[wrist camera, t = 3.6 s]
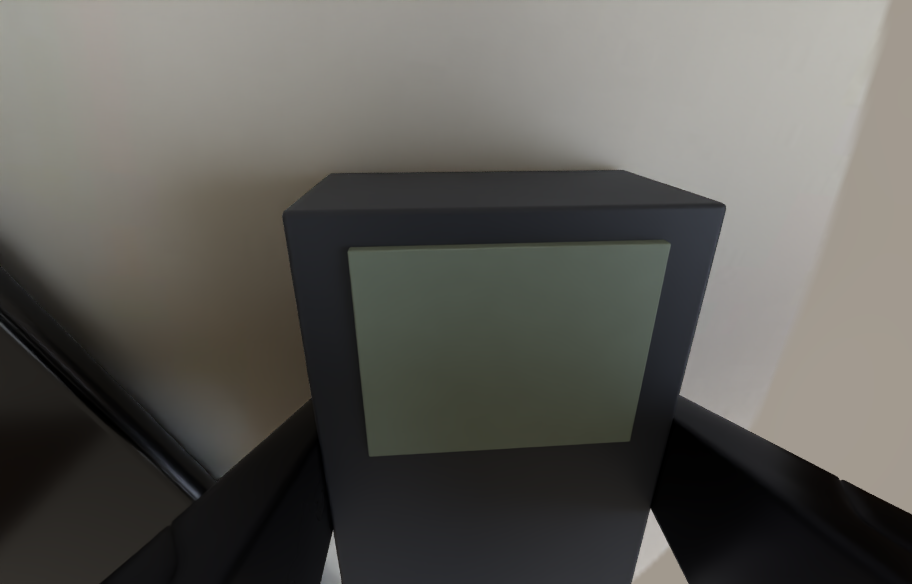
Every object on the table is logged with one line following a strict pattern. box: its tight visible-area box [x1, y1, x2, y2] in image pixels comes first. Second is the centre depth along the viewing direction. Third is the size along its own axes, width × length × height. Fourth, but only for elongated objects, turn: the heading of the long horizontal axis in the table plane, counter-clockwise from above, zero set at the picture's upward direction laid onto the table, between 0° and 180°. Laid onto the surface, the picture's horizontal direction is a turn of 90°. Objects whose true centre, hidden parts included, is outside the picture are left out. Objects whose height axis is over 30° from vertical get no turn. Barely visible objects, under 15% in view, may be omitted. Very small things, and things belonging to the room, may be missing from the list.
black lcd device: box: [282, 170, 726, 584], centre depth 8 cm, size 8×6×3 cm, turn 0°
